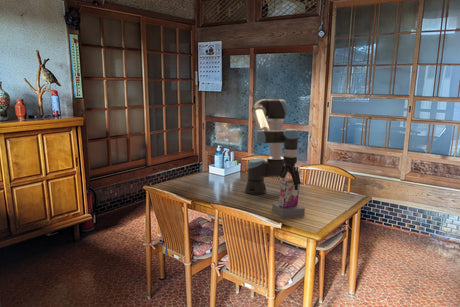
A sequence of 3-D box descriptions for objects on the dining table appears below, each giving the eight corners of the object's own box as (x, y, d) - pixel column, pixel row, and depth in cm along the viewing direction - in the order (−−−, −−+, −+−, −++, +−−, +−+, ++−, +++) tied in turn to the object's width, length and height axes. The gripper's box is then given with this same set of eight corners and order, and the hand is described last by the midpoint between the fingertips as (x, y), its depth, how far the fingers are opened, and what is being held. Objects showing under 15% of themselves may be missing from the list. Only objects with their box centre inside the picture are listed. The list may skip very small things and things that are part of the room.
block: (272, 210, 211) (272, 203, 210) (293, 208, 215) (293, 200, 214) (282, 219, 198) (282, 210, 197) (304, 216, 202) (304, 208, 201)
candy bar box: (283, 208, 200) (286, 181, 197) (278, 205, 204) (280, 178, 201) (298, 205, 206) (300, 178, 203) (292, 202, 211) (294, 176, 207)
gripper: (274, 152, 210) (273, 186, 214) (296, 161, 187) (294, 198, 192) (285, 151, 213) (283, 185, 217) (308, 160, 190) (306, 197, 194)
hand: (288, 191), depth 204 cm, fingers open, 13 cm apart
